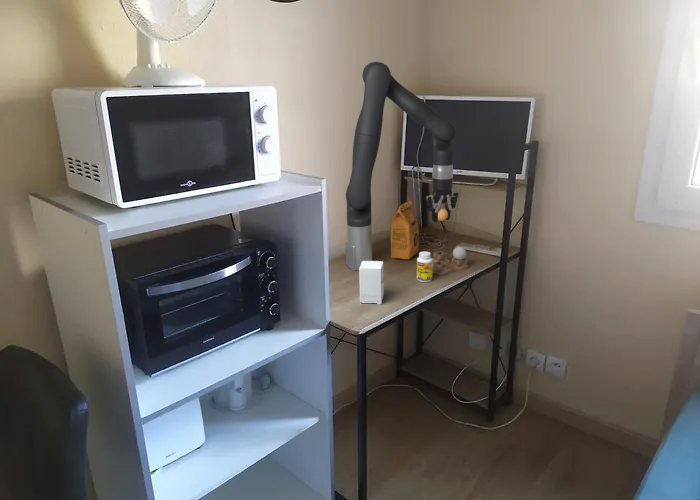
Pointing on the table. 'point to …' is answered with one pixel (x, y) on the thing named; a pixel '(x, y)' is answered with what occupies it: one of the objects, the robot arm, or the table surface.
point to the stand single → (440, 257)
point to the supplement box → (371, 282)
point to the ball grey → (459, 253)
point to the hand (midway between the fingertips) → (441, 220)
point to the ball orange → (442, 214)
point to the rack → (449, 266)
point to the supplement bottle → (424, 267)
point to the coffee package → (404, 233)
